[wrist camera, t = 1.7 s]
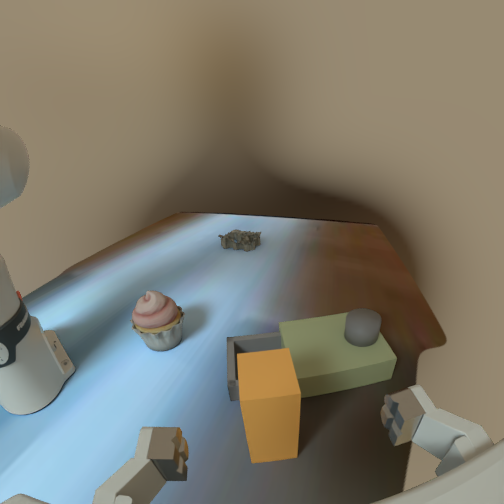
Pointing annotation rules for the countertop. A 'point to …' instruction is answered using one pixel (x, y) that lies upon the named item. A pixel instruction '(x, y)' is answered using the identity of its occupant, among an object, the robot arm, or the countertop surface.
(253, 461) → the tall orange pillar
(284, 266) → the countertop surface
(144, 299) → the cupcake
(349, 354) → the green drawer box
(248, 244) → the rocky terrain model
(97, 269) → the countertop surface
